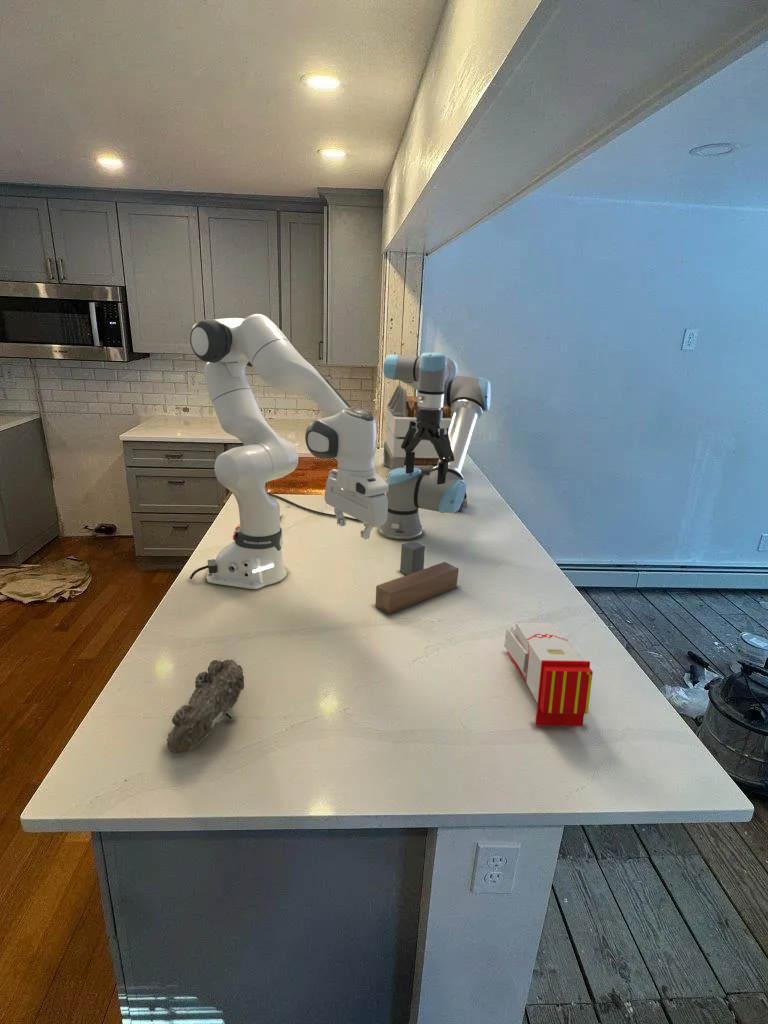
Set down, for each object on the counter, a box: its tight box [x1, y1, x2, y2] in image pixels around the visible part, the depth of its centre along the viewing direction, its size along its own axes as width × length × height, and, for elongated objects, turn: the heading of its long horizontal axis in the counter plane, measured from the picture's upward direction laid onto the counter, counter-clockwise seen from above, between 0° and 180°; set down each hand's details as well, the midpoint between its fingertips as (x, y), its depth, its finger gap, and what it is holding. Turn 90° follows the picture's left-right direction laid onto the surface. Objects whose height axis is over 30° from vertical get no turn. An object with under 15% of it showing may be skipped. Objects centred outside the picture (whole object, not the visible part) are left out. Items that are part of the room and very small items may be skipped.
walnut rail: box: [374, 561, 459, 615], centre depth 156 cm, size 6×26×6 cm, turn 131°
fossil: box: [166, 658, 245, 754], centre depth 106 cm, size 22×10×15 cm
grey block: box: [399, 540, 426, 576], centre depth 170 cm, size 5×5×9 cm
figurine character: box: [459, 492, 468, 512], centre depth 228 cm, size 7×8×15 cm
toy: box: [503, 622, 594, 727], centre depth 121 cm, size 12×13×30 cm
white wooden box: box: [383, 384, 453, 472], centre depth 268 cm, size 34×33×41 cm
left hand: (352, 531), depth 140 cm, fingers open, 8 cm apart
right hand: (424, 478), depth 172 cm, fingers open, 13 cm apart
